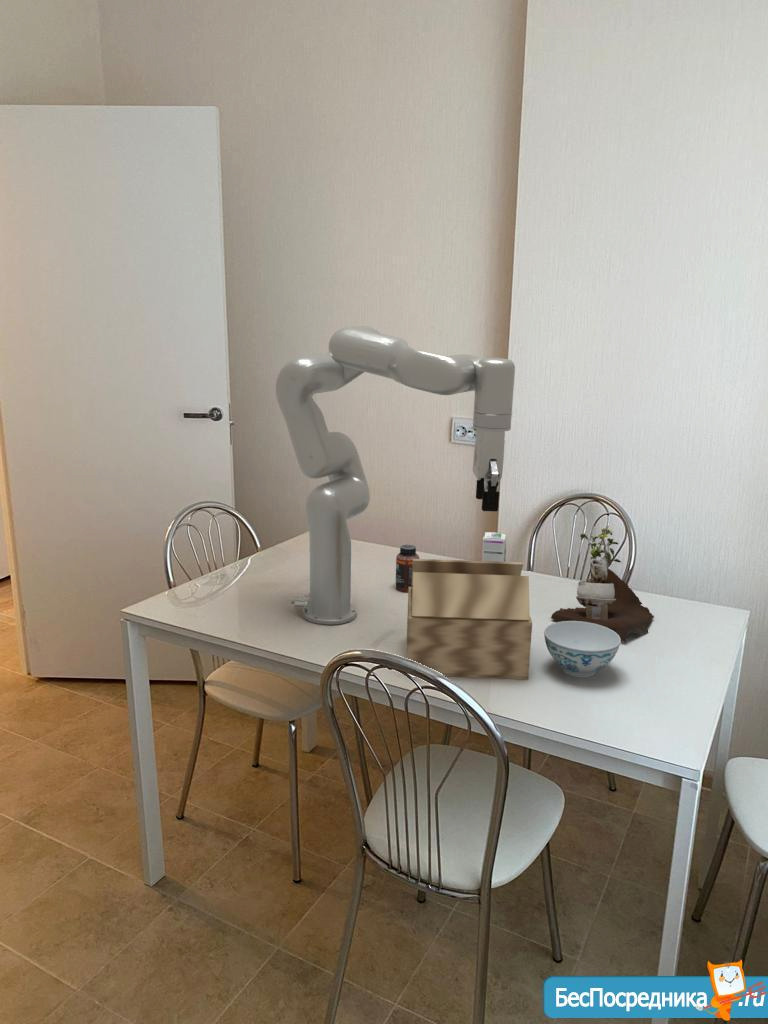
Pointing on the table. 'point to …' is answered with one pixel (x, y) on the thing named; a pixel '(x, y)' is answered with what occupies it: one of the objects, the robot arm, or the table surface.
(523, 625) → the carton
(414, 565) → the back flap
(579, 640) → the chinaware
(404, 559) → the supplement bottle
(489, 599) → the front flap
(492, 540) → the syrup box
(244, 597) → the table surface
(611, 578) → the potted plant
